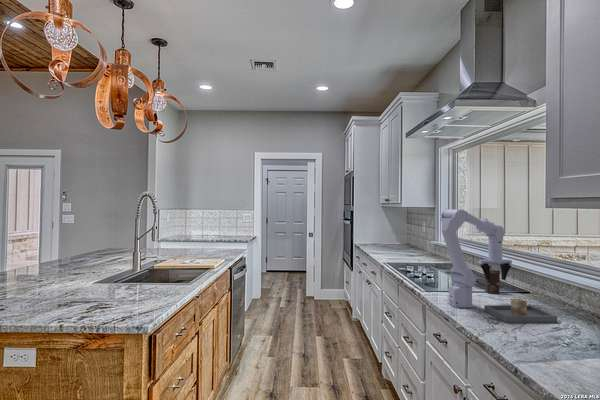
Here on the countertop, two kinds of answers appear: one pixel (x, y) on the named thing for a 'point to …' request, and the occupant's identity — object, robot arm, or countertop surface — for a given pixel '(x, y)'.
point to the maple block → (519, 307)
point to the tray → (532, 316)
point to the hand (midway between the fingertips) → (495, 279)
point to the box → (493, 282)
